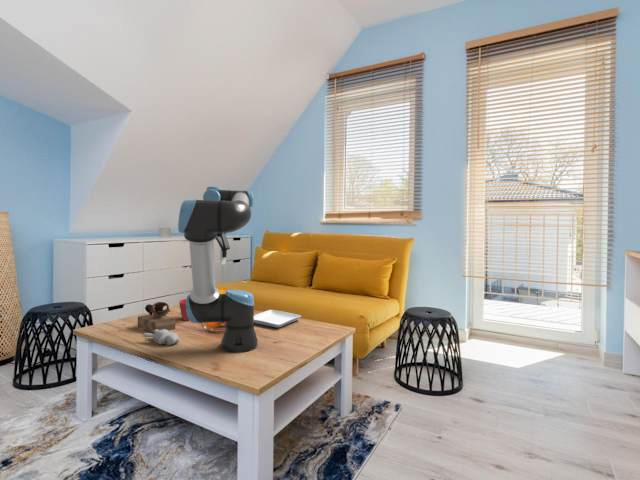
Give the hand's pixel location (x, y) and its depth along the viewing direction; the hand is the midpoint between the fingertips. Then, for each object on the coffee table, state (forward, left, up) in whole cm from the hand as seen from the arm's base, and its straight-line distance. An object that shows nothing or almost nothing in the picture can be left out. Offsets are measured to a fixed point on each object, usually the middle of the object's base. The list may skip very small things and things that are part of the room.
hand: (213, 263), depth 181 cm
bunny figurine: (-1, +28, -32) cm, 42 cm away
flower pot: (+22, -2, -32) cm, 39 cm away
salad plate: (-16, -27, -32) cm, 45 cm away
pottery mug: (+20, +17, -27) cm, 38 cm away
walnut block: (+20, +18, -32) cm, 42 cm away
